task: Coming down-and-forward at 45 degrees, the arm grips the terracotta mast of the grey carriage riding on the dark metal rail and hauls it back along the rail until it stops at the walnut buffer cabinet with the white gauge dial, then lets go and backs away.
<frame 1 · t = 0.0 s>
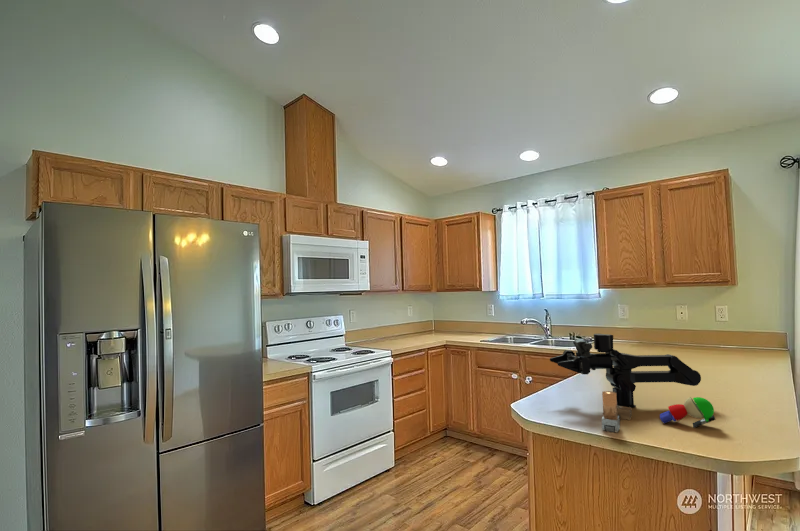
hand: (553, 361, 160), 17 cm above the counter, tool horizontal, fingers open, 9 cm apart
toy: (686, 425, 135), on the counter
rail: (613, 424, 136), on the counter
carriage: (610, 410, 132), point 6 cm above the counter, slide at 10.5 cm
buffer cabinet: (617, 416, 145), on the counter
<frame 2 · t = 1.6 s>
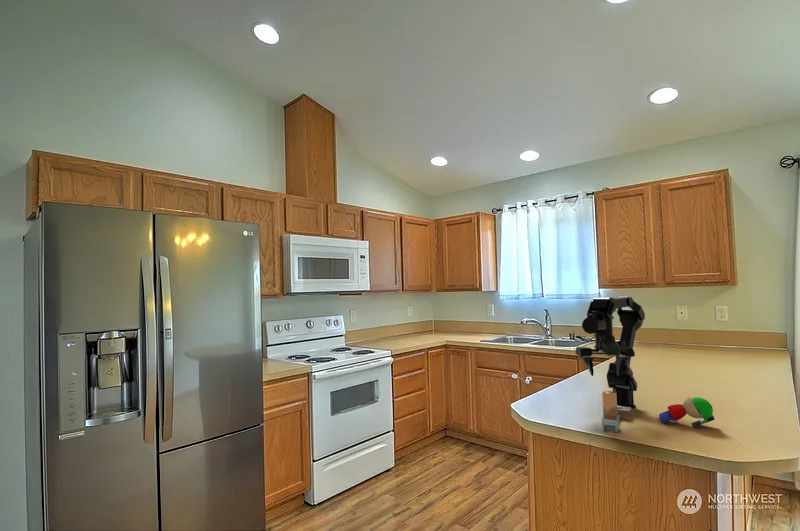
hand: (605, 375, 150), 13 cm above the counter, tool pointing down, fingers open, 9 cm apart
nothing on the counter moved.
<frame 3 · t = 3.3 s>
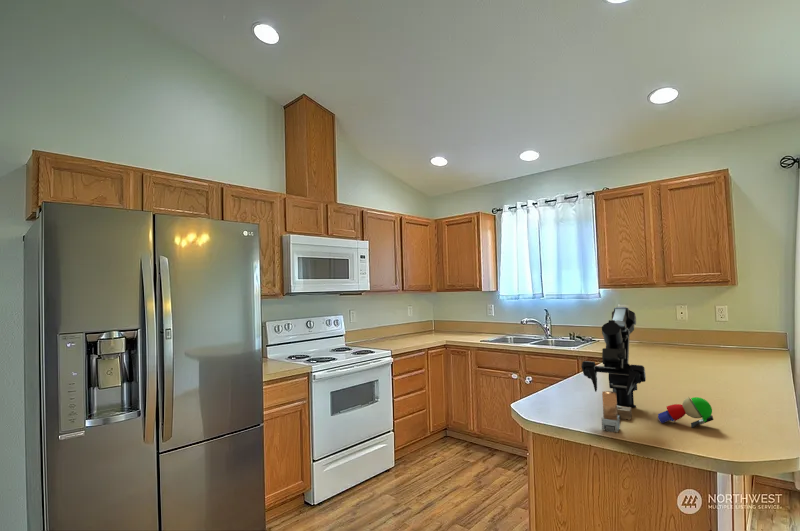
hand: (611, 392, 135), 11 cm above the counter, tool tilted 45°, fingers open, 9 cm apart
nothing on the counter moved.
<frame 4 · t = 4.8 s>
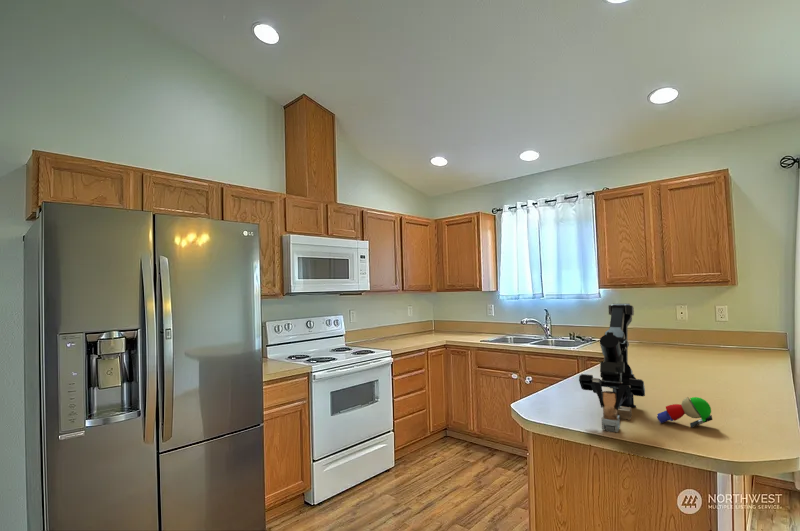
hand: (609, 407, 131), 7 cm above the counter, tool tilted 45°, fingers closed on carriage, 4 cm apart
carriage: (610, 410, 132), point 6 cm above the counter, slide at 10.5 cm, touching gripper
everything else where it was.
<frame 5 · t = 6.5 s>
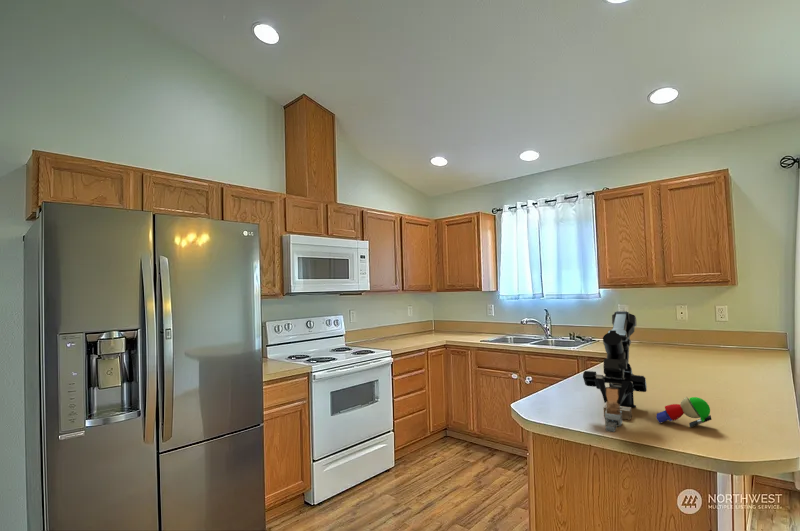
hand: (612, 403, 136), 7 cm above the counter, tool tilted 45°, fingers closed on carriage, 4 cm apart
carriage: (613, 405, 137), point 6 cm above the counter, slide at 4.0 cm, touching gripper
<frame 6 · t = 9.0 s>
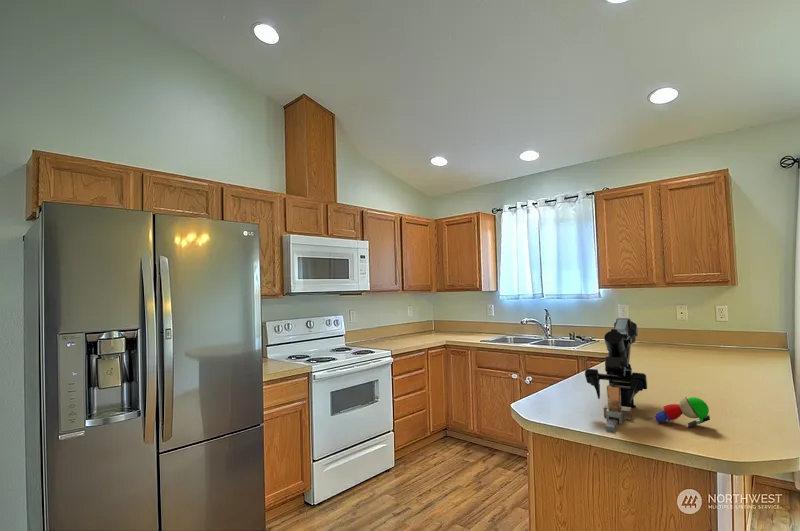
hand: (613, 400, 139), 7 cm above the counter, tool tilted 45°, fingers open, 9 cm apart
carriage: (614, 403, 140), point 6 cm above the counter, slide at 1.0 cm
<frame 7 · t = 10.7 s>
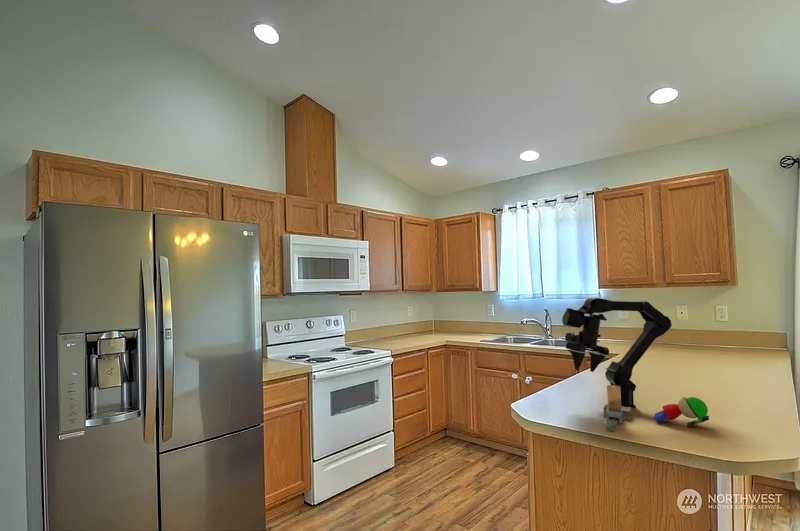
hand: (584, 370, 159), 13 cm above the counter, tool pointing down, fingers open, 9 cm apart
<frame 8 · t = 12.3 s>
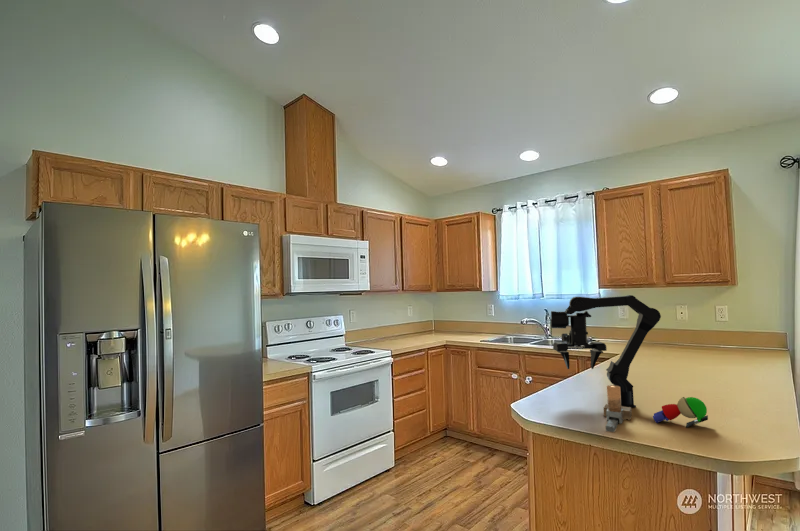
hand: (580, 368, 163), 13 cm above the counter, tool pointing down, fingers open, 9 cm apart
at the end: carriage slide at 1.0 cm; the gripper is holding nothing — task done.
